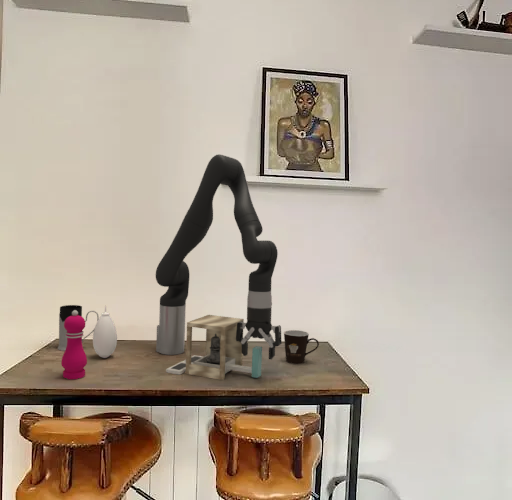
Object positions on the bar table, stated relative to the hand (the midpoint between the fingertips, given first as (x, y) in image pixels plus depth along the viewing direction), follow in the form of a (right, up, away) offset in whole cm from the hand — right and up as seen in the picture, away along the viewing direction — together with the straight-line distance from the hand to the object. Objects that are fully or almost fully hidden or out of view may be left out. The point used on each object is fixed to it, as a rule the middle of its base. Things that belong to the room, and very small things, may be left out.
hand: (258, 357), depth 150 cm
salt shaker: (-14, -6, +6) cm, 16 cm away
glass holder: (-65, -3, +26) cm, 71 cm away
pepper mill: (-55, -5, -5) cm, 56 cm away
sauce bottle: (-52, -4, +16) cm, 55 cm away
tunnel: (-14, -6, +6) cm, 16 cm away
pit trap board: (-23, -5, +9) cm, 26 cm away
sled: (-9, -6, +4) cm, 11 cm away
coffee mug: (+14, -6, +18) cm, 24 cm away
